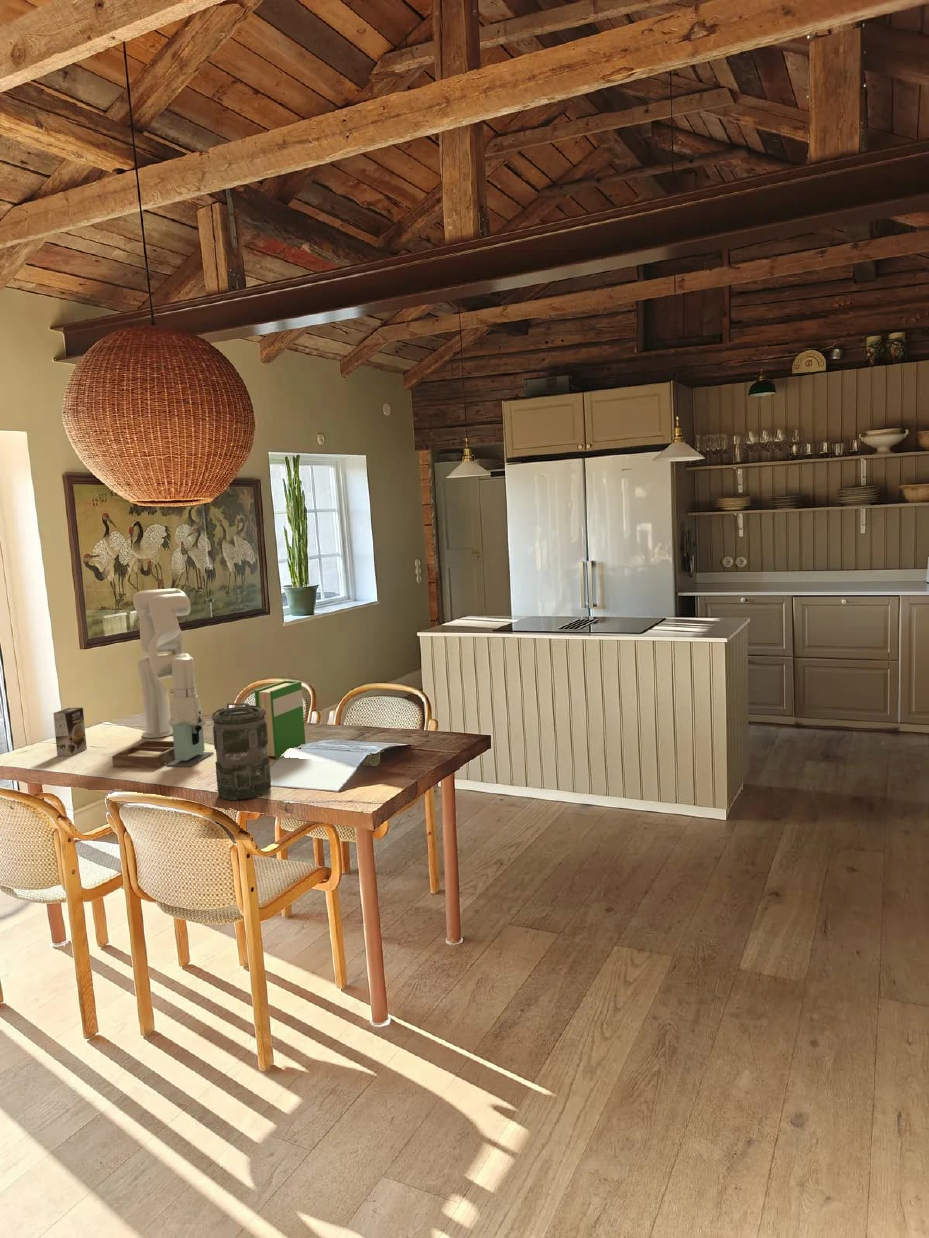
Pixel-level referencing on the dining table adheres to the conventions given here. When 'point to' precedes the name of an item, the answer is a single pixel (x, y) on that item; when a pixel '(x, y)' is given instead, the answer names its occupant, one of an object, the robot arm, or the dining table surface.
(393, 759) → the dining table surface
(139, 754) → the offcut upper
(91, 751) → the dining table surface
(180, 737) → the pale green square slab
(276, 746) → the hardback book
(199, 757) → the mat
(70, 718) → the coffee box
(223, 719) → the canister
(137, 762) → the rack
